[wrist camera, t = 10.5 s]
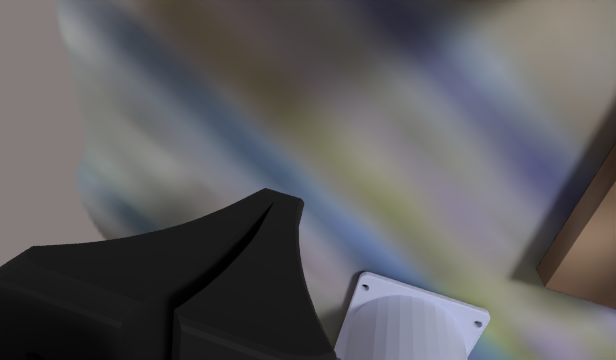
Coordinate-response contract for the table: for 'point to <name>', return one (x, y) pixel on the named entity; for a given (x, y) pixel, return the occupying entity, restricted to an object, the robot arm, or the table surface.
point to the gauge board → (587, 243)
